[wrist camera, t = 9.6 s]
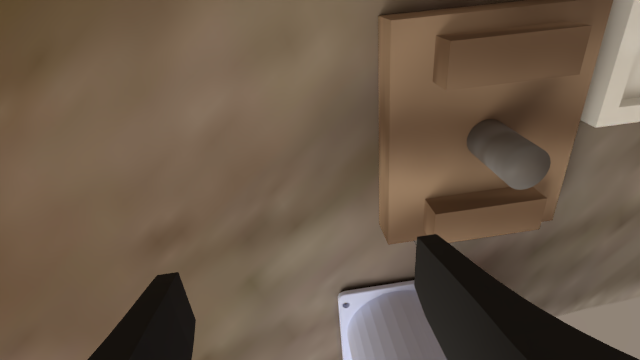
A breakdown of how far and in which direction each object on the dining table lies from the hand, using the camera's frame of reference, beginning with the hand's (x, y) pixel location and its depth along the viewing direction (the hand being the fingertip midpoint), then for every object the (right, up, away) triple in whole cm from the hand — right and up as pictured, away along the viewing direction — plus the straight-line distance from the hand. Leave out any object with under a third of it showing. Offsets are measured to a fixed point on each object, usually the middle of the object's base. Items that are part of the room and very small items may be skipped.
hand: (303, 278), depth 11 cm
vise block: (+9, +6, +9) cm, 14 cm away
